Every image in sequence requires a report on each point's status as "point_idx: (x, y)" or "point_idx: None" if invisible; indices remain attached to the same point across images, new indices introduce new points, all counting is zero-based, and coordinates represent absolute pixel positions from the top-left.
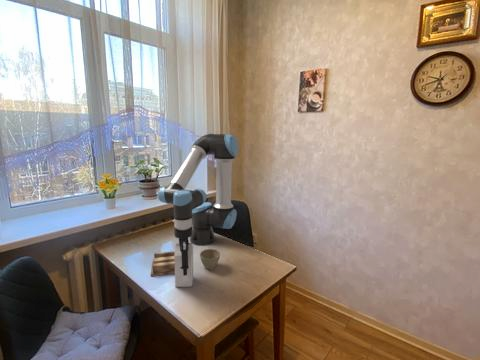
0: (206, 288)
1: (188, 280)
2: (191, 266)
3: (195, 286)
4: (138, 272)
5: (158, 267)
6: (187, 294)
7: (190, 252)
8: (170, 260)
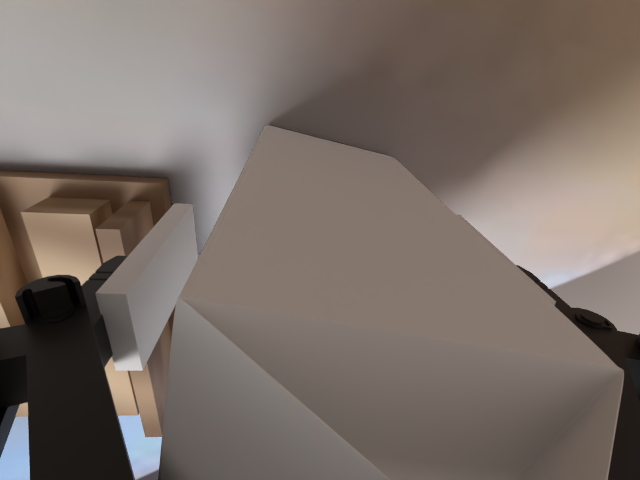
0: (466, 32)
1: (460, 216)
2: (474, 232)
3: (399, 126)
4: (141, 438)
5: (161, 396)
6: (464, 197)
7: (602, 431)
8: (15, 308)
